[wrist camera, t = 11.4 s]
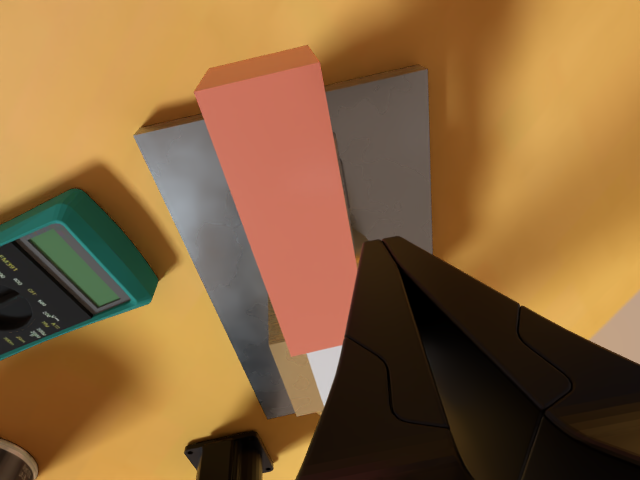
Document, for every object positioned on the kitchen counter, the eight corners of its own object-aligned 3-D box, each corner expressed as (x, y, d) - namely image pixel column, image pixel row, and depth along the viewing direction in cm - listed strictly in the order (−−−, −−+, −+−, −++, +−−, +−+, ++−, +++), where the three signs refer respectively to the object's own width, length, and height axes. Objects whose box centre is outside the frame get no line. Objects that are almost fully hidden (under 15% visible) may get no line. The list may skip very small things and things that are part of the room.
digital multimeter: (-136, 278, 22) (-186, 315, 20) (86, 178, 21) (62, 205, 18) (-27, 354, 26) (-56, 392, 24) (166, 275, 25) (155, 308, 22)
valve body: (430, 369, 32) (475, 473, 26) (267, 405, 32) (268, 519, 26) (418, 64, 19) (507, 110, 12) (140, 127, 19) (70, 209, 12)
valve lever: (374, 389, 20) (388, 443, 17) (320, 401, 20) (328, 457, 17) (307, 44, 11) (320, 62, 8) (208, 68, 11) (193, 92, 8)
